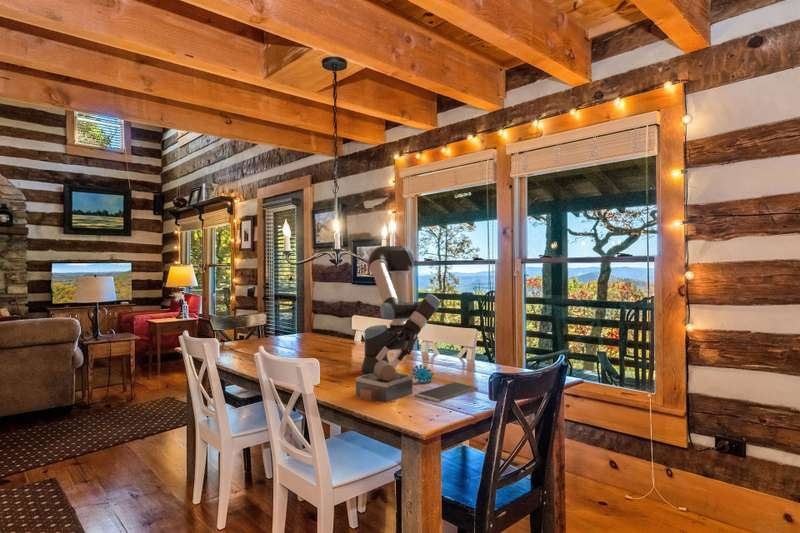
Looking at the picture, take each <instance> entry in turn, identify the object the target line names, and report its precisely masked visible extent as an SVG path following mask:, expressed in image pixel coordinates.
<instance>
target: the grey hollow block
mask: <svg viewBox="0 0 800 533" xmlns="http://www.w3.org/2000/svg"><path fill="white" fill-rule="evenodd" d="M396 373H397V374H399V375H400V379H397V378H393V379H392V380H391V381H383V380H381V379H380V378H378V377H377V376H376V375H375V374H374V373H370V374H364V375H359V376H355V396H357V395H358V396H357V397H360V398H359V399H360V400H363V401H366V400H367V401H366V402H370V401H372V402H375V401H378V400H379V402H383V403H388V402H392V401H393V400H397V399H400V398H403V397H406V396H408V395H412V394H413V375H411V374H405V373H402V372H401V373H400V372H396ZM374 400H375V401H374Z"/></svg>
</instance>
